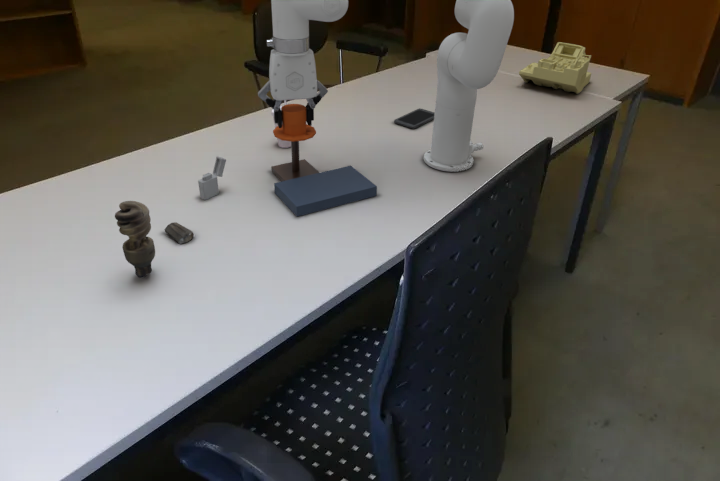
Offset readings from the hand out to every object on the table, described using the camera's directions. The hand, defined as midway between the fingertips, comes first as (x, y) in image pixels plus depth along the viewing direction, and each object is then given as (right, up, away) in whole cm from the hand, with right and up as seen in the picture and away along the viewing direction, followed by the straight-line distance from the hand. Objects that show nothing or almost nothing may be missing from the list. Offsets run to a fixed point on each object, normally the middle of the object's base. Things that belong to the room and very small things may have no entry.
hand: (294, 124), depth 132 cm
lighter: (-18, -16, -1) cm, 24 cm away
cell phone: (+32, +9, +39) cm, 52 cm away
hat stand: (0, -11, +7) cm, 13 cm away
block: (-21, -26, -16) cm, 37 cm away
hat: (0, -2, +1) cm, 2 cm away
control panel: (+83, +27, +70) cm, 112 cm away
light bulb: (-24, -33, -27) cm, 49 cm away
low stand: (+7, -16, 0) cm, 18 cm away
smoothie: (-5, -1, +22) cm, 23 cm away
